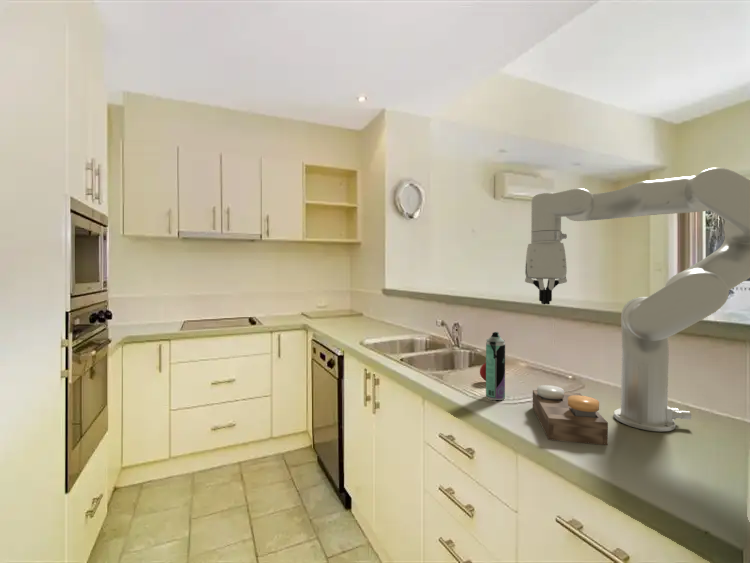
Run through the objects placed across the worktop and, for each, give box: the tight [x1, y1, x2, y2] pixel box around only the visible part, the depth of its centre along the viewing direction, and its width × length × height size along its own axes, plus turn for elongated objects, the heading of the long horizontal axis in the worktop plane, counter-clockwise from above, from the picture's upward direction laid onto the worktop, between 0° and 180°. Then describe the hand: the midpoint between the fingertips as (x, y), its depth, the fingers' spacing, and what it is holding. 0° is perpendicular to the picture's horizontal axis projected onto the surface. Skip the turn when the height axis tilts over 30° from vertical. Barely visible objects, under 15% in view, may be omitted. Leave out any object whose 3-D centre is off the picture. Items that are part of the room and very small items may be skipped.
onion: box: [479, 362, 486, 382], centre depth 126 cm, size 6×6×8 cm
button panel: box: [532, 389, 609, 446], centre depth 92 cm, size 12×20×5 cm, turn 166°
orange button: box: [568, 395, 600, 418], centre depth 86 cm, size 6×6×7 cm
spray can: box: [485, 331, 506, 401], centre depth 111 cm, size 6×6×20 cm
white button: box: [536, 384, 565, 401], centre depth 97 cm, size 6×6×7 cm
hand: (545, 303), depth 103 cm, fingers closed
